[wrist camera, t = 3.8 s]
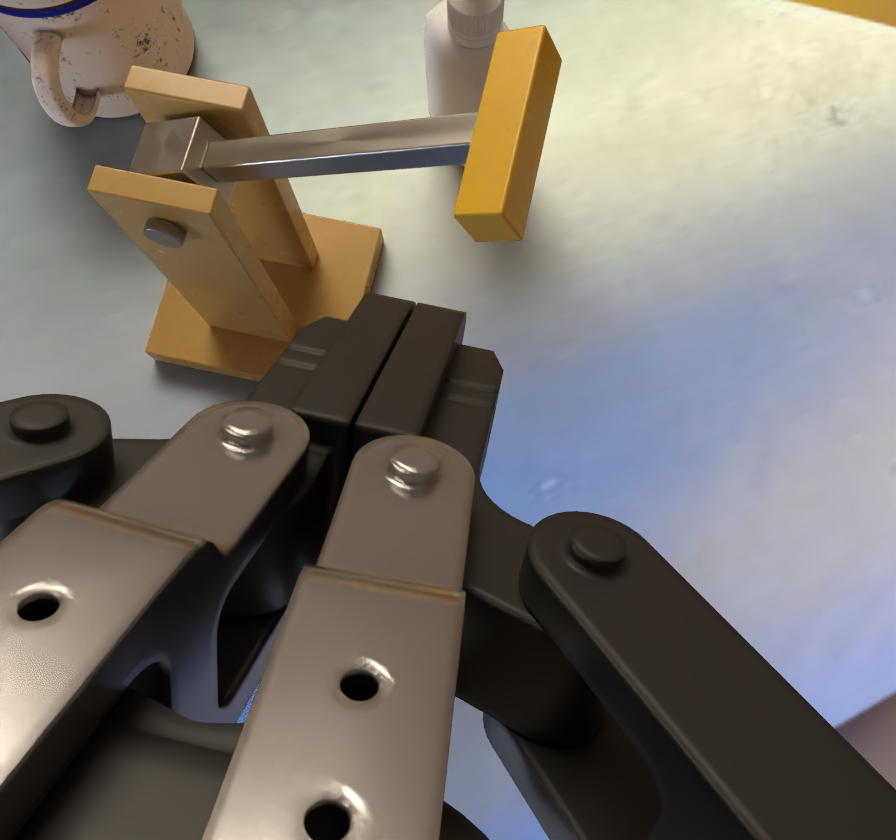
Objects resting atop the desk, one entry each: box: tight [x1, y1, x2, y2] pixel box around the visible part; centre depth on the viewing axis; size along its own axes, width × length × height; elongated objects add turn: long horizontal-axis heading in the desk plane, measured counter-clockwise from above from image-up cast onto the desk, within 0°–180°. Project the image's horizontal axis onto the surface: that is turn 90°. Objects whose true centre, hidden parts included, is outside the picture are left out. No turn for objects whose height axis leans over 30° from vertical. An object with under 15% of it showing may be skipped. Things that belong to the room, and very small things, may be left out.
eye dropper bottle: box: [424, 0, 510, 167], centre depth 38 cm, size 4×6×12 cm
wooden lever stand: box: [87, 65, 383, 382], centre depth 35 cm, size 10×9×15 cm
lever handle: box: [129, 25, 562, 242], centre depth 26 cm, size 15×6×2 cm, turn 78°
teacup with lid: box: [0, 0, 194, 127], centre depth 40 cm, size 12×9×12 cm
